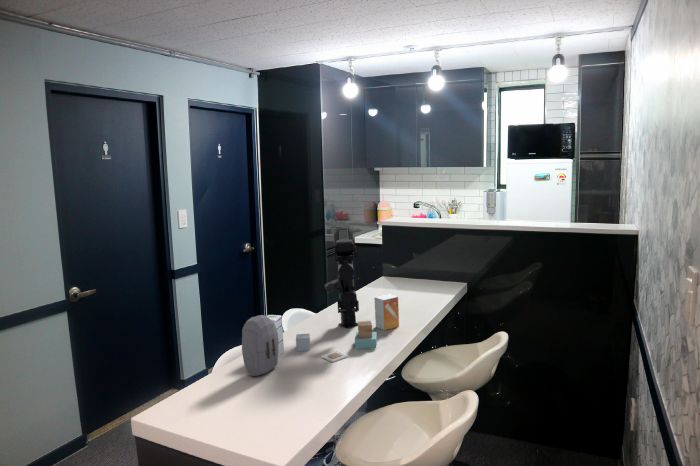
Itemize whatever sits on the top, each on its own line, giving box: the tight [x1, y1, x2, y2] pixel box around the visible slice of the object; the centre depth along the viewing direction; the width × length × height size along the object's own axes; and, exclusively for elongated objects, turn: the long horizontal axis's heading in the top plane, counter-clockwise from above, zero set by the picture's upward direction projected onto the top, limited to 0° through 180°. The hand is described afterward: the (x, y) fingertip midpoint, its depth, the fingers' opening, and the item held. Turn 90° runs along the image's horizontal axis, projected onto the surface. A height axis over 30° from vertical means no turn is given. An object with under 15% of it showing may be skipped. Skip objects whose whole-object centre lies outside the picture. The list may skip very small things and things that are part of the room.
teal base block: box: [354, 331, 378, 350], centre depth 196 cm, size 8×8×4 cm
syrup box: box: [266, 314, 285, 358], centre depth 191 cm, size 6×6×14 cm
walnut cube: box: [357, 320, 373, 338], centre depth 195 cm, size 5×5×5 cm
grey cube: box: [295, 333, 311, 352], centre depth 196 cm, size 5×5×5 cm
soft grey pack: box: [241, 314, 279, 377], centre depth 174 cm, size 15×8×20 cm, turn 150°
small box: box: [374, 293, 400, 331], centre depth 215 cm, size 8×6×13 cm
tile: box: [321, 350, 349, 363], centre depth 186 cm, size 7×7×1 cm
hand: (348, 311), depth 201 cm, fingers open, 9 cm apart
